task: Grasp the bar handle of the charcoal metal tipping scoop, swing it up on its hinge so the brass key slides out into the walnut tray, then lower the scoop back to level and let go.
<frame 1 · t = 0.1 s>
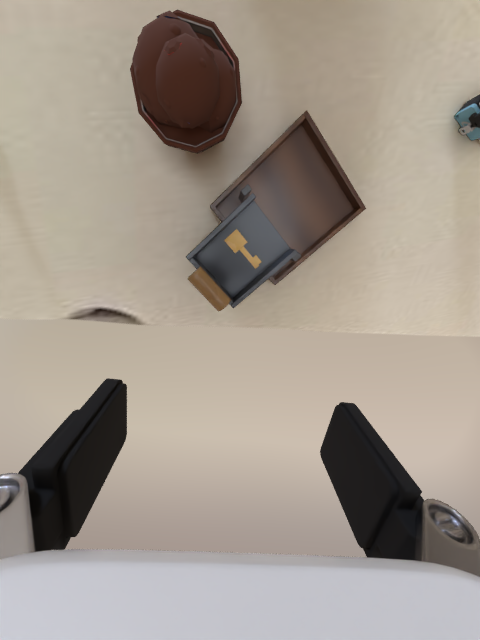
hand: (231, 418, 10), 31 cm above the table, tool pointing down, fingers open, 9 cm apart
ice cream bowl: (198, 128, 33), on the table
tray: (285, 209, 36), on the table
push button: (468, 127, 34), on the table
key: (244, 251, 32), point 7 cm above the table, touching scoop
scoop: (240, 257, 28), point 10 cm above the table, hinge at 0.0°, touching key
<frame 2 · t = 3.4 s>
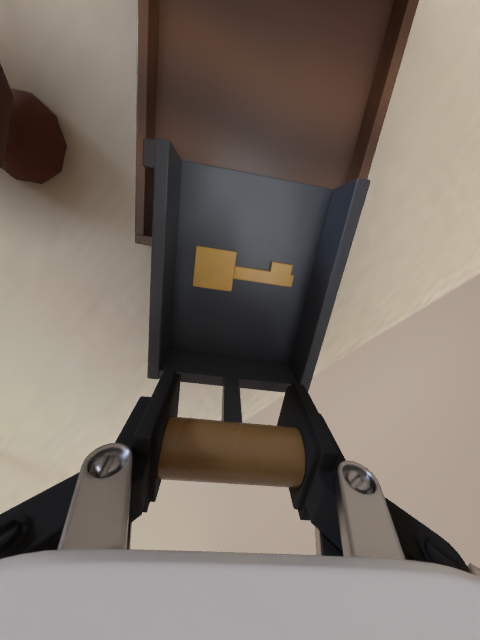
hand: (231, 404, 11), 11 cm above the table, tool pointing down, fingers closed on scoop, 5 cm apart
ice cream bowl: (26, 139, 16), on the table
tray: (258, 134, 17), on the table
key: (244, 273, 13), point 7 cm above the table, touching scoop
scoop: (246, 304, 10), point 10 cm above the table, hinge at 0.0°, touching gripper, key
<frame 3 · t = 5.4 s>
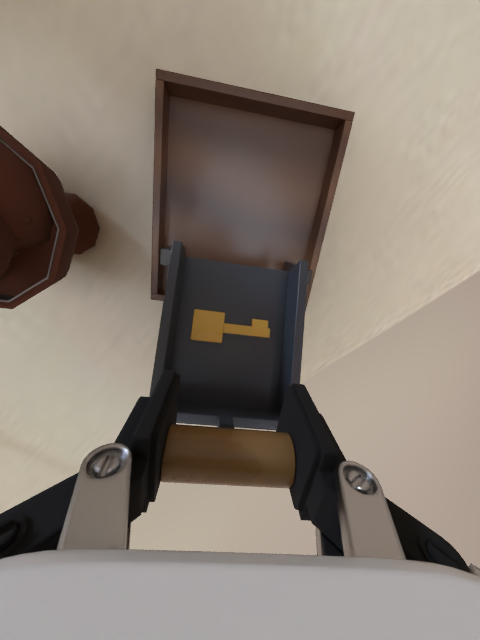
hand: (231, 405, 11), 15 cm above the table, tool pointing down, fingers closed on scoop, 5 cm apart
ice cream bowl: (69, 224, 22), on the table
tray: (240, 217, 23), on the table
key: (231, 329, 17), point 9 cm above the table, tilted 26°, touching scoop
scoop: (234, 339, 13), point 12 cm above the table, hinge at 26.5°, touching gripper, key
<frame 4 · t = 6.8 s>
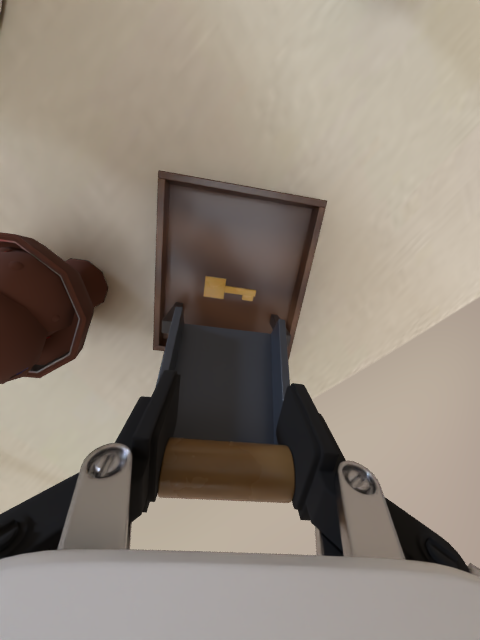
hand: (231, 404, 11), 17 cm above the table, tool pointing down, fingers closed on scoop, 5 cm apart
ice cream bowl: (82, 284, 25), on the table
tray: (232, 277, 26), on the table
key: (230, 290, 25), point 1 cm above the table, tilted 180°, touching tray
scoop: (227, 378, 15), point 13 cm above the table, hinge at 52.4°, touching gripper
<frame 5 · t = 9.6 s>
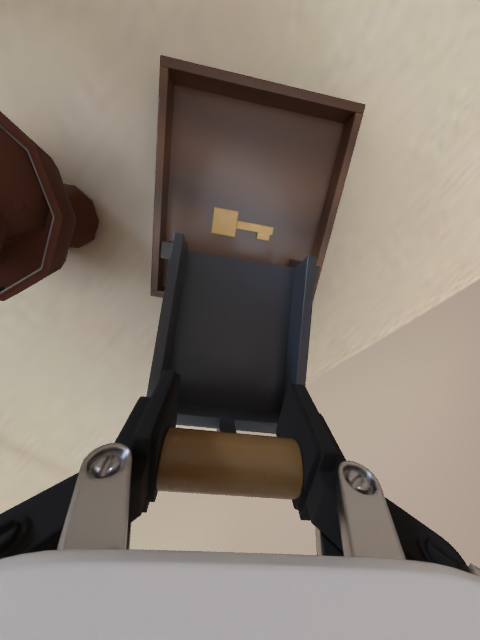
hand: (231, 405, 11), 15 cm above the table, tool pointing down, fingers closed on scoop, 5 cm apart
ice cream bowl: (68, 216, 22), on the table
tray: (245, 212, 22), on the table
key: (243, 225, 21), point 1 cm above the table, tilted 180°, touching tray
scoop: (237, 337, 13), point 12 cm above the table, hinge at 25.7°, touching gripper
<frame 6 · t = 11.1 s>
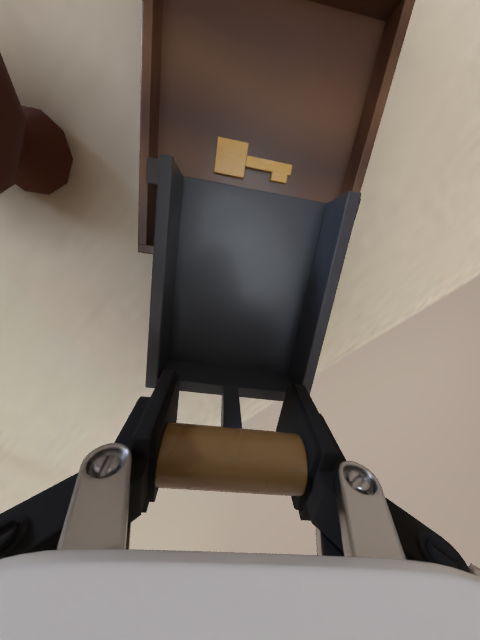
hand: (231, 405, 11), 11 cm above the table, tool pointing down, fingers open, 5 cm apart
ice cream bowl: (34, 152, 17), on the table
tray: (256, 148, 18), on the table
key: (254, 162, 17), point 1 cm above the table, tilted 180°, touching tray
scoop: (245, 309, 10), point 11 cm above the table, hinge at 4.3°
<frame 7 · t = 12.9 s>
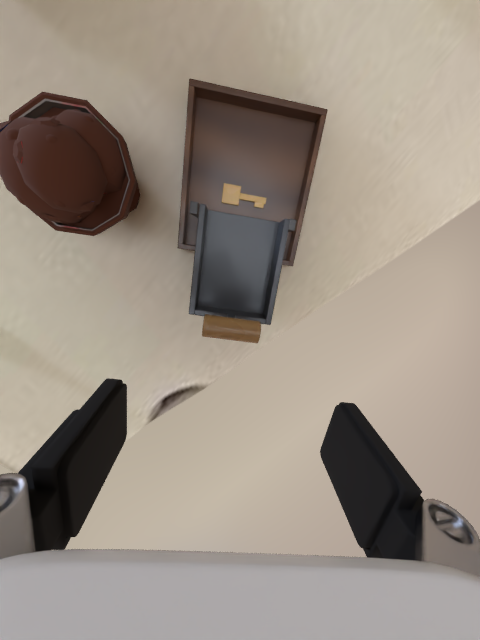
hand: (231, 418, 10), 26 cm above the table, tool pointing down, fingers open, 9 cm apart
ice cream bowl: (118, 191, 30), on the table
tray: (245, 187, 30), on the table
key: (244, 196, 30), point 1 cm above the table, tilted 180°, touching tray
scoop: (237, 272, 23), point 11 cm above the table, hinge at 4.2°
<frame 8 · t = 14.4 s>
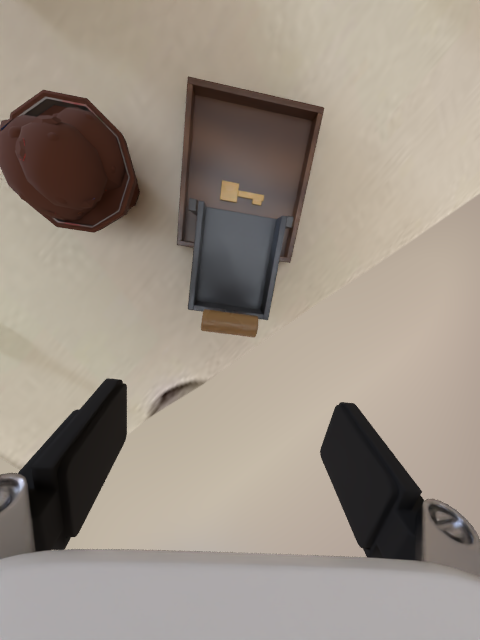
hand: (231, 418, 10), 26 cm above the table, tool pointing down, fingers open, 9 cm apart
ice cream bowl: (118, 188, 30), on the table
tray: (243, 185, 31), on the table
key: (242, 194, 30), point 1 cm above the table, tilted 180°, touching tray
scoop: (235, 268, 24), point 11 cm above the table, hinge at 4.2°
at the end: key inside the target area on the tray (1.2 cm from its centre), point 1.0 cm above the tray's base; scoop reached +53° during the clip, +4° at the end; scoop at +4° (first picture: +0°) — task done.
